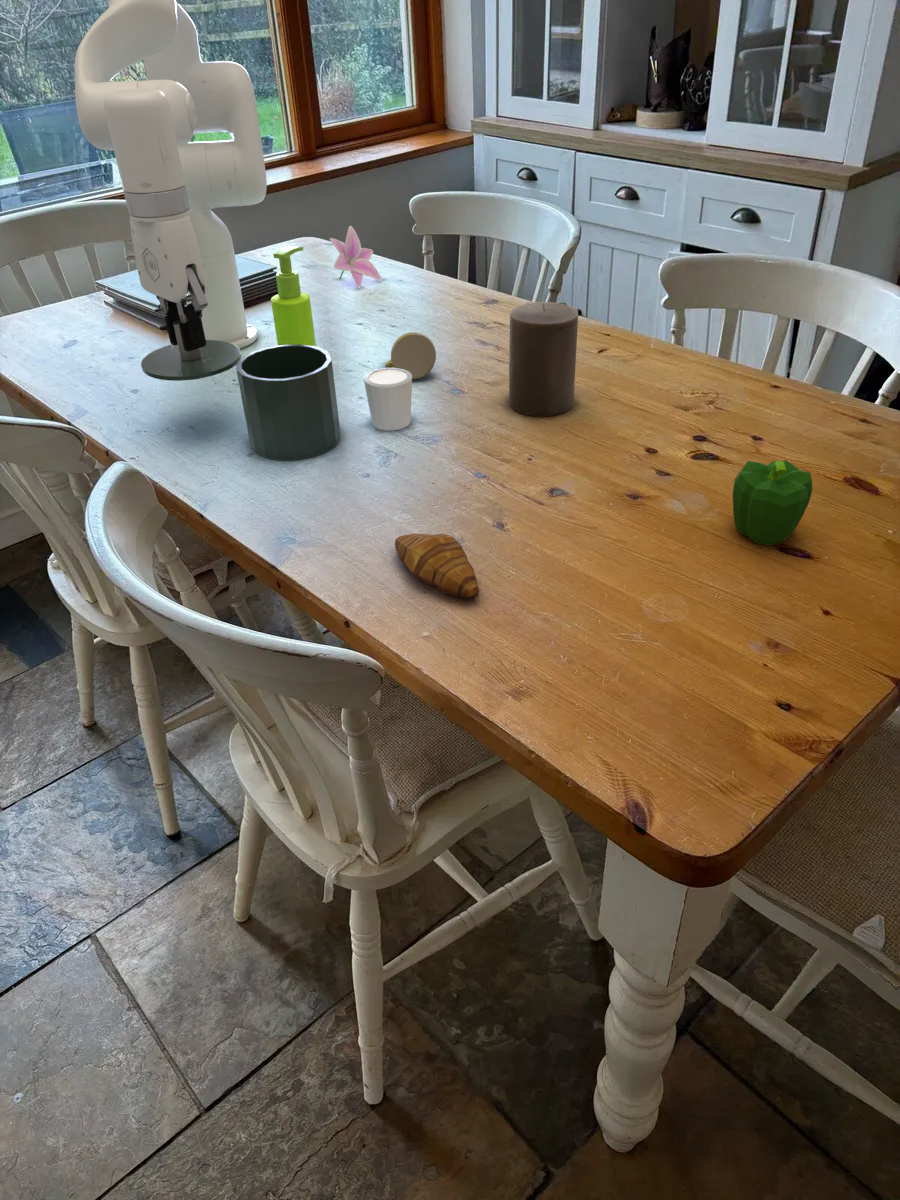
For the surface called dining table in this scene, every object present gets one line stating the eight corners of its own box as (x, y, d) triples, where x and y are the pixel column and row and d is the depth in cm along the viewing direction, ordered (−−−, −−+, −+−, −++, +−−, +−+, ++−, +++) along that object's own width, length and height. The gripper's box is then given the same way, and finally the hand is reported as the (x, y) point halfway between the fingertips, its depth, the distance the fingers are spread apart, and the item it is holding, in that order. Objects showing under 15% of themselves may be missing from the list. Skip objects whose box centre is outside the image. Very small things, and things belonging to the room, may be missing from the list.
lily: (327, 298, 175) (343, 257, 169) (308, 261, 180) (323, 220, 174) (378, 305, 182) (396, 266, 176) (358, 269, 187) (375, 230, 181)
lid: (125, 383, 118) (113, 338, 114) (168, 346, 129) (159, 304, 125) (219, 387, 116) (210, 341, 112) (255, 349, 127) (248, 306, 123)
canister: (237, 458, 120) (221, 378, 113) (269, 417, 130) (256, 342, 123) (325, 463, 118) (314, 383, 111) (350, 422, 127) (342, 345, 121)
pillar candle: (530, 422, 125) (533, 319, 116) (496, 398, 132) (496, 299, 123) (586, 407, 129) (593, 306, 120) (550, 384, 136) (554, 287, 127)
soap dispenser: (330, 372, 142) (314, 245, 130) (307, 388, 137) (289, 258, 125) (299, 367, 144) (281, 241, 132) (276, 383, 140) (255, 254, 127)
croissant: (500, 590, 93) (500, 552, 90) (451, 616, 90) (449, 577, 87) (423, 538, 102) (421, 502, 99) (376, 560, 99) (372, 523, 96)
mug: (430, 356, 147) (442, 314, 138) (425, 402, 143) (437, 361, 134) (387, 347, 146) (396, 304, 137) (380, 393, 142) (389, 352, 133)
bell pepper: (736, 508, 105) (750, 432, 99) (806, 524, 102) (826, 447, 96) (715, 542, 100) (729, 464, 94) (789, 561, 96) (809, 481, 90)
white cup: (421, 414, 129) (419, 369, 124) (404, 435, 124) (401, 388, 119) (378, 409, 131) (374, 364, 126) (360, 429, 125) (355, 383, 121)
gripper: (99, 199, 112) (135, 339, 123) (164, 218, 103) (196, 368, 114) (151, 189, 116) (181, 325, 127) (218, 206, 107) (244, 352, 118)
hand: (188, 344), depth 121 cm, fingers closed on lid, 2 cm apart
